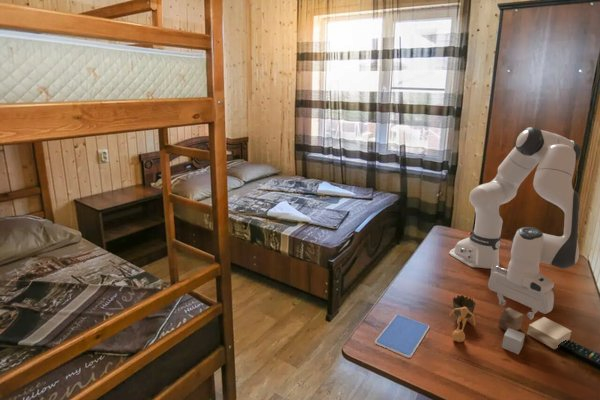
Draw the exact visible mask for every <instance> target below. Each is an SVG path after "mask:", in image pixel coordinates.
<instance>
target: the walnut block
mask: <svg viewBox="0 0 600 400" xmlns="http://www.w3.org/2000/svg"><path fill="white" fill-rule="evenodd" d="M523 316H524V313H521V312H519V311H517V310H515V309H513V308H511V307H507V308H506V309H504V310H501V312H500V317H499V320H498V326H497V327H498V328H500V329H502V330H504V331H505V332H506V331H507V329H508V328H511V329H514V330H516V331H520V330H521V327H522V322H523Z"/></svg>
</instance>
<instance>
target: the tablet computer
mask: <svg viewBox="0 0 600 400" xmlns="http://www.w3.org/2000/svg"><path fill="white" fill-rule="evenodd" d="M429 330H430V325H429V324H427V323H423V322H421V321H417V320H415V319H412V318H409V317H407V316H404V315H401V314H395V316H394V317H393V318H392V320H390V322H389V323H388V325H387V326H386V327H385V328H384V329H383V331H382V332H381V333H380V334H379V336H378V337H376V339H375V341H374V344H375V345H376V344H377V346H379V347H381V346H382V347H381V348H383V347H384V349H386V348H387V349H386V350H388V351H390V350H391V352H393V353H396V354H397V355H400V356H402V357H405V358H407V359H411V358H412V357H413V356H414V353H416V351H417V349H418V347H419V346H420V344H421V342H422V341H423V339H425V338H424V337H425V336H426V334H427V333H428V332H429Z"/></svg>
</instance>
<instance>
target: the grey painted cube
mask: <svg viewBox="0 0 600 400" xmlns="http://www.w3.org/2000/svg"><path fill="white" fill-rule="evenodd" d="M525 336H526V333H523V332H521V331H520V330H518V331H516V330H514V329H511V328H508V329H507V331H506V330H505V332H504V335H503V339H502V343H501V349H505V350H506V351H509V352H511V353H514V354H516V355H519V354H520V353H521V351H522V349H523V346H524V342H525V339H526V338H525Z"/></svg>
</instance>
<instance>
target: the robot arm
mask: <svg viewBox="0 0 600 400" xmlns="http://www.w3.org/2000/svg"><path fill="white" fill-rule="evenodd" d="M581 153H582V148H581V145H580V144H578V142H576V141H575V140H573V139H568V138H567V137H565V136H562V135H560V134H557V133H556V132H555V133H553V132H550V131H547V130H544V129H543V130H542V129H540V128H538V127H534V126H533V127H531V126H530V127H529V126H528V127H526V128H525V129H523V130H522V131H520V133H519V134H518V136H517V138H516V140H515V146H514V147H513V148H512V149H511V151H510V152H509V153H508V155H507V156H506V157H505V158H504V159H503V161H502V162H501V163H500V164H499V166H498V167H497V173H496V175H495V177H494V178H493V179H492V180H491V181H489V182H485V183H482V184H479V185H477V186H475V187H474V188H473V189H471V191H470V193H469V199H468V200H469V202H470V203H471V205H472V207H474V211H475V222H474V223H475V224H474V228H473V230H471V231H470V232H468V233H467V235H468V236H467V237H466V238H464V239H461V240H459V241H458V242H457V243H456V244H455V246H454V248H452V249H450V251H449V253H448V255H449V254H450V255H449V256H451V257H453V258H454V259H456V260H458V261H460V262H462V263H463V264H465V265H467V266H469V267H470V268H479V269H480V268H482V269H490V276H489V279H488V283H487V287H488V289H489V290H490V291H491V292H494V293H497V294H496V296H497V299H498V301H499V303H498V305H499V306H501V307H505V306H506V305H507V304H506V303H507V300H505V298H508V299H510V300H513V301H515V302H517V303H520V304H522V305H523V306H526V307H528V308H531V311H528V312H527V313H526V318H527V319H528V320H533V319H534V317H535V314H537V313H538V312H539V313H542V314H544V315H545V314H549V313H550V312H552V310H553V308H554V302H555V293H554V291H553V288H554V285H555V283H554V282H553V281H552V280H551V279H549V278H548V277H547V276H545V275H543V274H542V273H541V272H540V263H543V264H548V265H551V266H554V267H556V268H559V269H563V270H564V269H568V268H571V267H573V266H575V265H576V263H578V260H579V256H580V248H579V247H580V246H579V224H580V196H579V193H578V192H577V191H576V190H574V188H573V185H572V184H573V183H572V180H573V177H574V173H575V167H576V162H578V160H579V158H580V157H581ZM536 166H537V167H536ZM535 168H536V170H535V174H534V176H533V181H532V182H533V183H532V185H533V189H534V191H535V192H536V193H537V194H538V196H539V197H541V198H542V199H544V200H545V201H548V202H549V203H551V204H553V205H555V206H556V207H558V208H559V209H561V211H563V213H564V221H563V225H564V226H563V233H562V235H561V236H560V235H559V236H557V235H553V234H548V233H544V232H542V231H541V230H540V229H538V228H537V227H533V226H532V227H531V226H523V227H519V228H518V229H517V230H516V232H515V234H514V236H513V237H512V240H511V245H510V261H509V262H508V265H507V266H508V267H507V268H503V267H501V266H500V261H499V260H500V258H499V250H500V245H501V238H502V236H501V234H502V227H503V223H504V221H503V218H502V216H500V206H501V205H505V204H506V203H507V204H508V203H509V202H510V201H511V200H513V199H514V198H515V197H516V196H517V194H518V189H519V188H520V186H521V184H522V183H523V181H525V179H526V178H527V177H528V176H529V175H530V173H532V171H534V169H535ZM504 297H505V298H504Z"/></svg>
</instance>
